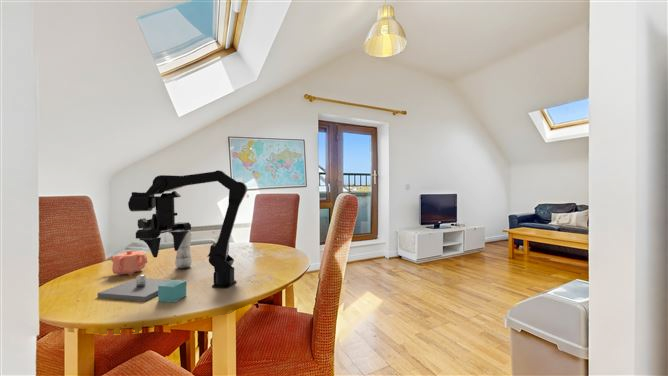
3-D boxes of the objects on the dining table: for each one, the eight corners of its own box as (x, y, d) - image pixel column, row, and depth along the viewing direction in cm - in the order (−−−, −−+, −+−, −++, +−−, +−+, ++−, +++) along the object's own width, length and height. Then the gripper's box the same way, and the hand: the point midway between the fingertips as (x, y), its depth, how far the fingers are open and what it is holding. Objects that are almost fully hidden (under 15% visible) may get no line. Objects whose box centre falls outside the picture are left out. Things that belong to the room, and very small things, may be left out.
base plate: (179, 284, 100) (179, 280, 100) (144, 301, 85) (144, 296, 85) (137, 281, 103) (137, 277, 103) (97, 297, 88) (97, 293, 88)
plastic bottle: (184, 270, 116) (184, 225, 116) (171, 269, 118) (171, 224, 118) (195, 266, 123) (195, 223, 123) (182, 265, 124) (182, 222, 124)
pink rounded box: (109, 273, 112) (108, 250, 112) (143, 267, 121) (143, 246, 121) (111, 280, 104) (111, 255, 104) (148, 273, 113) (148, 250, 112)
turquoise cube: (186, 295, 90) (186, 280, 90) (173, 302, 84) (173, 286, 84) (171, 294, 91) (171, 279, 91) (158, 301, 85) (158, 285, 85)
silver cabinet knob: (148, 285, 95) (148, 274, 95) (140, 288, 92) (140, 277, 92) (141, 284, 96) (141, 274, 96) (133, 287, 93) (133, 276, 93)
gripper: (167, 208, 106) (168, 247, 106) (121, 213, 87) (122, 260, 87) (191, 208, 103) (192, 248, 104) (149, 213, 85) (150, 261, 85)
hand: (166, 253), depth 95 cm, fingers open, 9 cm apart
